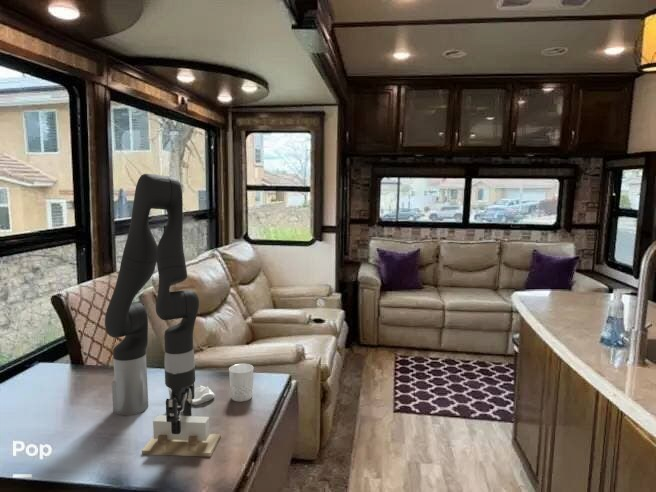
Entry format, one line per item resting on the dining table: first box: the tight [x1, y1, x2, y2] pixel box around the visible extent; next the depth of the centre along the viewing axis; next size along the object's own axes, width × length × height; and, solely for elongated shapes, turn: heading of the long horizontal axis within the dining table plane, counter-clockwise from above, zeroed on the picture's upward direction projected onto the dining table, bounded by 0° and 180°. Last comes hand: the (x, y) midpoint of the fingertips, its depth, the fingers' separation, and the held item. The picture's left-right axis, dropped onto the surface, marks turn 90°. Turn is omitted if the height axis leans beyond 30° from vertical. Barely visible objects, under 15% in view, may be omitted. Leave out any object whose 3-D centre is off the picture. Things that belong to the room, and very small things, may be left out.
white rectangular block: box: [152, 414, 211, 441], centre depth 120 cm, size 14×3×5 cm, turn 87°
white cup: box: [228, 363, 254, 403], centre depth 149 cm, size 8×8×10 cm
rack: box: [141, 433, 222, 457], centre depth 121 cm, size 18×9×4 cm, turn 87°
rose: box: [191, 384, 216, 406], centre depth 147 cm, size 10×4×10 cm
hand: (181, 425), depth 120 cm, fingers open, 7 cm apart
